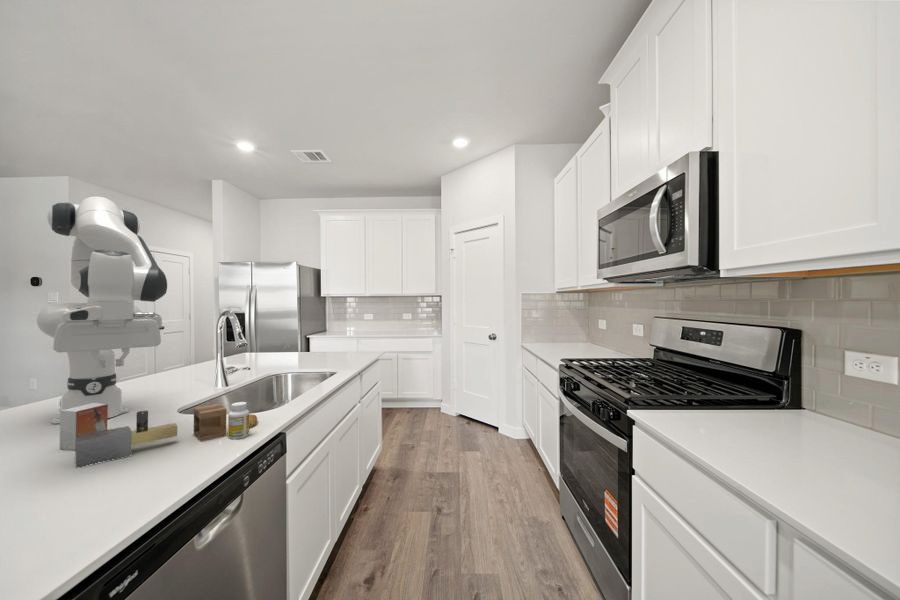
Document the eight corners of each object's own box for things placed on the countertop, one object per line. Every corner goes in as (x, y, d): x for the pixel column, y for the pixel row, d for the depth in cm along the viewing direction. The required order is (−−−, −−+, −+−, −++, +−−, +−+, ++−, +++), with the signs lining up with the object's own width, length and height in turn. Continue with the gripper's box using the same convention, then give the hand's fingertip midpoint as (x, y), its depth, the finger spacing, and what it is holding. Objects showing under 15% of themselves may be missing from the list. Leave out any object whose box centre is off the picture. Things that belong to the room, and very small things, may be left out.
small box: (74, 451, 98) (75, 411, 99) (58, 449, 100) (59, 410, 100) (108, 440, 106) (108, 403, 106) (92, 438, 107) (93, 402, 108)
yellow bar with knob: (75, 453, 92) (76, 421, 92) (175, 433, 106) (175, 405, 106) (76, 457, 90) (76, 424, 90) (177, 436, 104) (177, 407, 104)
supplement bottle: (241, 431, 114) (241, 400, 114) (253, 434, 112) (253, 402, 112) (224, 437, 109) (224, 404, 109) (236, 440, 107) (236, 406, 107)
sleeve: (75, 460, 93) (75, 435, 93) (128, 449, 100) (128, 426, 100) (76, 468, 88) (76, 441, 88) (131, 455, 96) (131, 431, 96)
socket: (193, 434, 111) (193, 407, 111) (218, 429, 116) (218, 403, 116) (200, 441, 106) (200, 413, 106) (226, 435, 111) (226, 408, 111)
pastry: (240, 421, 125) (241, 409, 125) (262, 420, 126) (262, 409, 126) (228, 430, 116) (228, 418, 116) (251, 429, 117) (252, 417, 117)
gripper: (159, 312, 105) (159, 360, 105) (53, 313, 90) (53, 370, 90) (164, 312, 100) (163, 363, 100) (53, 313, 86) (52, 373, 86)
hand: (110, 366), depth 95 cm, fingers open, 2 cm apart
